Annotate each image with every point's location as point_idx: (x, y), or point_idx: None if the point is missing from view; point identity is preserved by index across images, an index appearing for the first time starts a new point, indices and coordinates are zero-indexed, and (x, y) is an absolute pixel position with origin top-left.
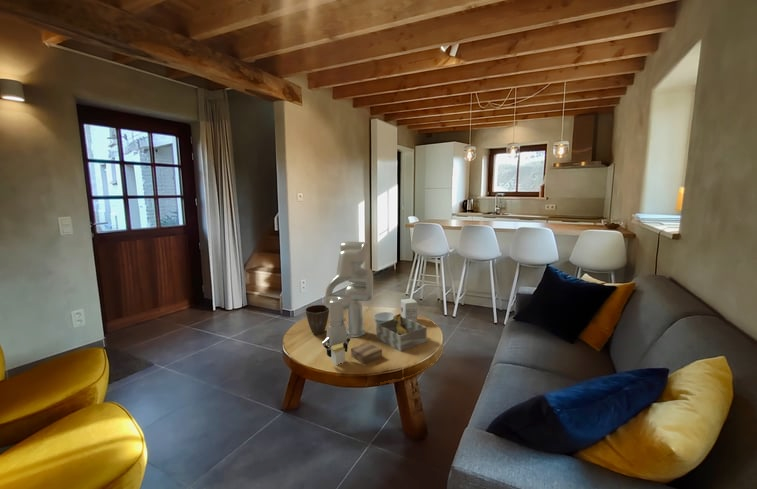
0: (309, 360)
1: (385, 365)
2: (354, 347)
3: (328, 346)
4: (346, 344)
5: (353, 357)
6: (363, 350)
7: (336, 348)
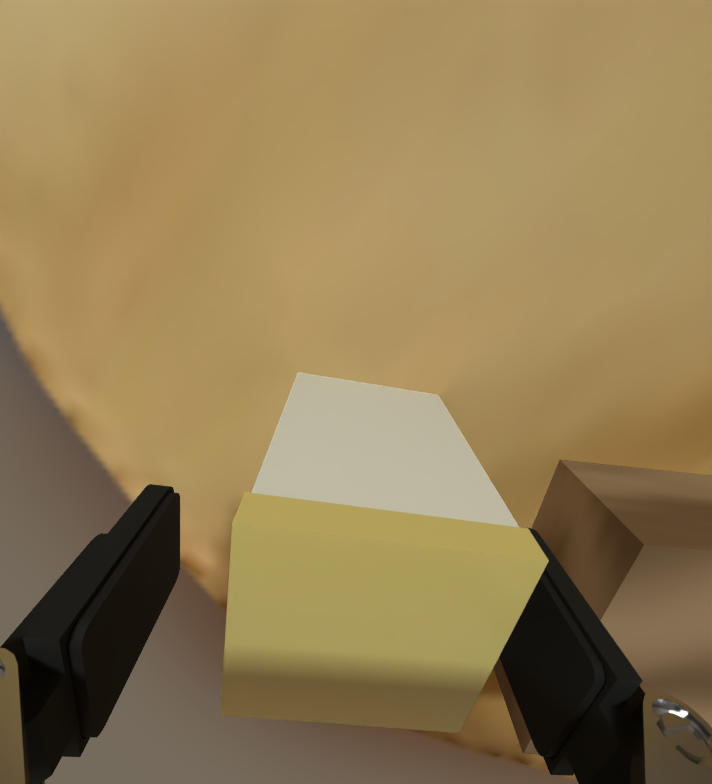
0: (11, 40)
1: None
2: (707, 554)
3: (6, 752)
4: (584, 757)
5: (547, 502)
6: (665, 678)
7: (324, 650)
